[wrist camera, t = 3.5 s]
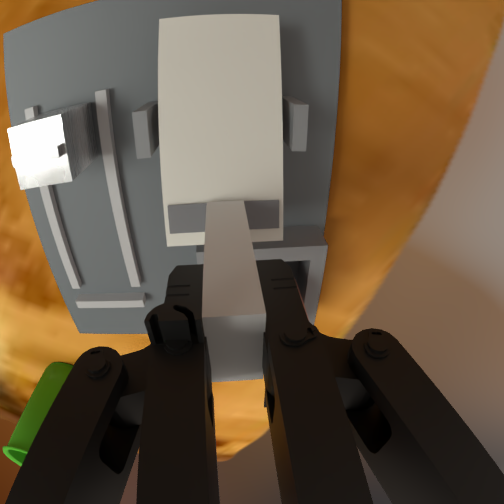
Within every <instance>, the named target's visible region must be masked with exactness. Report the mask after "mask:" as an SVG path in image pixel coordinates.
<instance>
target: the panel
mask: <svg viewBox="0 0 504 504" xmlns="http://www.w3.org/2000/svg"><path fill="white" fill-rule="evenodd" d="M213 14H267V15H279V26H280V50H281V80H282V121H283V241H263V242H252V245H253V250H254V255H255V260H270V259H282V260H283V261H284V262H285V263H286V264H287V265H289V266H290V267H291V270H292V273H293V276H294V278H295V280H296V282H297V285H298V288H299V291H300V294H301V297H302V300H303V303H304V306H305V310H306V313H307V316H308V319H309V322H310V323H312V324H313V325H314V322H315V317H316V312H317V307H318V301H319V296H320V291H321V285H322V279H323V274H324V268H325V262H326V256H327V250H328V244H327V242H326V240H325V239H324V237H323V236H324V229H325V222H326V214H327V207H328V198H329V190H330V181H331V172H332V163H333V153H334V143H335V131H336V119H337V106H338V92H339V75H340V53H341V18H342V0H98V1H94V2H90V3H87V4H83V5H80V6H76V7H73V8H70V9H66V10H63V11H60V12H57V13H54V14H51V15H49V16H46V17H43V18H40V19H38V20H35V21H33V22H30V23H28V24H25V25H23V26H20V27H18V28H16V29H13V30H11V31H9V32H7V33H5V34H4V65H5V79H6V90H7V99H8V107H9V114H10V121H11V127H13V126H15V125H17V124H19V123H21V122H23V121H26V120H28V119H30V118H32V117H35V116H37V115H39V114H41V113H45V112H48V111H52V110H56V109H60V108H65V107H69V106H73V105H78V104H83V103H88V102H91V110H92V119H93V127H94V134H95V141H96V148H97V154H98V157H97V158H96V159H95V160H94V161H93V162H92V163H91V164H90V165H89V166H88V167H86V168H85V169H84V170H83V171H82V172H81V173H80V174H79V175H78V176H77V177H76V178H75V179H74V180H73V181H72V182H65V183H59V184H52V185H46V186H40V187H35V188H29V189H25V192H26V195H27V199H28V202H29V206H30V209H31V213H32V216H33V219H34V222H35V225H36V228H37V231H38V234H39V237H40V240H41V243H42V246H43V249H44V252H45V254H46V257H47V260H48V262H49V265H50V267H51V270H52V273H53V275H54V278H55V280H56V282H57V285H58V287H59V289H60V292H61V294H62V296H63V299H64V301H65V303H66V305H67V308H68V310H69V312H70V314H71V316H72V318H73V320H74V322H75V324H76V327H77V329H78V331H79V333H94V334H148V333H147V330H146V326H145V323H144V320H145V318H146V316H147V314H148V313H149V312H150V311H151V310H152V309H153V308H154V307H156V306H158V305H161V304H163V303H164V301H165V297H166V289H167V283H168V277H169V274H170V273H171V272H172V271H173V269H174V268H175V267H176V266H177V265H196V264H204V245H188V246H170V247H167V240H166V230H165V220H164V208H163V196H162V182H161V166H160V147H159V120H158V41H159V19H164V18H172V17H183V16H195V15H213Z"/></svg>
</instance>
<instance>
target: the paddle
mask: <svg viewBox="0 0 504 504" xmlns="http://www.w3.org/2000/svg"><path fill="white" fill-rule="evenodd" d="M158 120H159V147H160V166H161V182H162V196H163V208H164V220H165V230H166V240H167V247H170V246H188V245H204V243H205V223H206V206H207V202H218V201H240V200H244V205H245V210H246V215H247V220H248V225H249V230H250V235H251V240H252V242H263V241H283V121H282V80H281V50H280V26H279V15H267V14H213V15H195V16H183V17H172V18H164V19H159V41H158Z"/></svg>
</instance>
